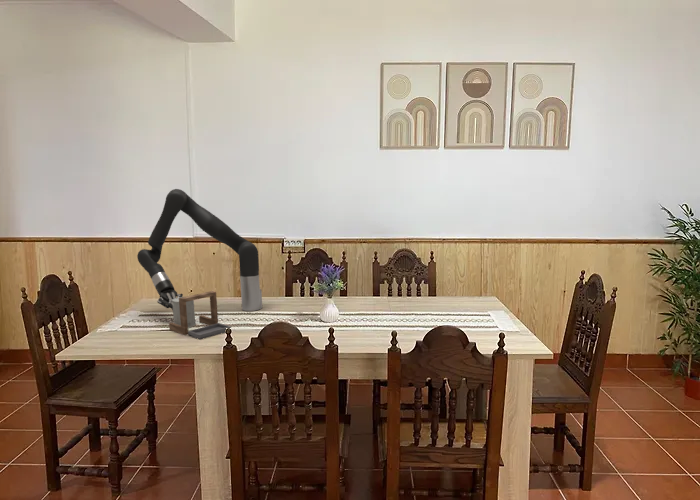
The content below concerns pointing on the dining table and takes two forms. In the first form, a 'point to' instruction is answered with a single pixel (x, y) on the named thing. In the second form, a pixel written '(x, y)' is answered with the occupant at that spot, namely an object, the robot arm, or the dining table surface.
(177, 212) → the robot arm
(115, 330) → the dining table surface
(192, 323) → the grey upright pillar
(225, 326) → the grey shallow rectangular tray
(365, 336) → the dining table surface
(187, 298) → the walnut frame
